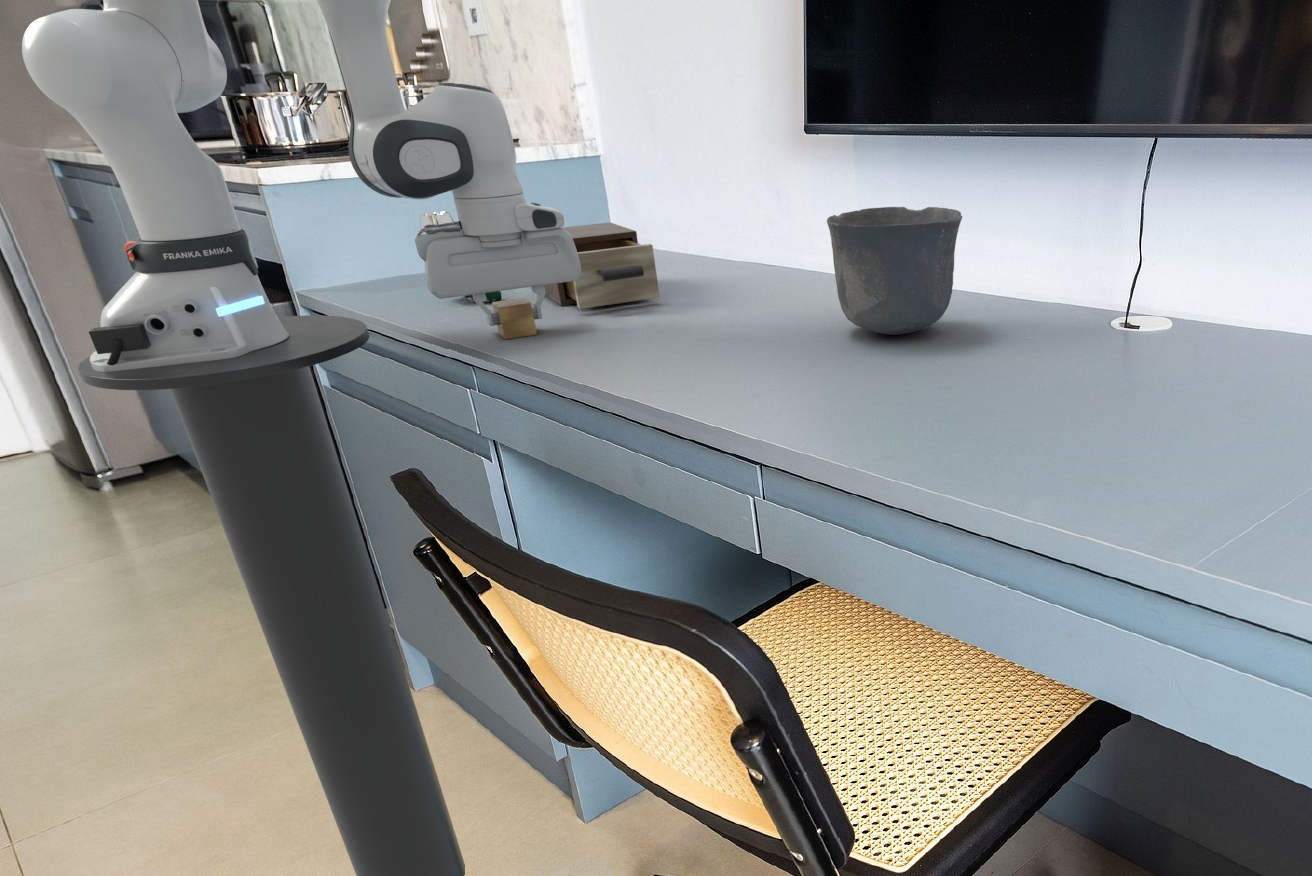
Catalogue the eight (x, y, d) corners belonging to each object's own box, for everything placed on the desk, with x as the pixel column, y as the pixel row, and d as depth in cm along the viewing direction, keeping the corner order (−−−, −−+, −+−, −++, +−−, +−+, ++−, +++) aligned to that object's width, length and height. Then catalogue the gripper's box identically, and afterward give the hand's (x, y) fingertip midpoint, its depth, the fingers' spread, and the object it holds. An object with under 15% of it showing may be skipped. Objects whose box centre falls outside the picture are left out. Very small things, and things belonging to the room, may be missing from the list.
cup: (993, 331, 132) (995, 210, 125) (898, 358, 122) (894, 229, 115) (900, 312, 144) (897, 201, 137) (805, 336, 133) (797, 217, 126)
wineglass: (462, 280, 181) (446, 210, 175) (473, 284, 177) (457, 212, 171) (429, 285, 177) (412, 214, 172) (440, 289, 173) (423, 216, 168)
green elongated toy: (473, 306, 169) (441, 284, 164) (484, 287, 169) (453, 265, 165) (493, 314, 162) (460, 292, 158) (505, 294, 163) (473, 271, 158)
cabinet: (645, 293, 163) (636, 230, 159) (561, 305, 157) (549, 240, 153) (619, 281, 174) (610, 222, 169) (539, 292, 168) (527, 231, 163)
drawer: (669, 301, 152) (662, 247, 149) (588, 313, 147) (578, 258, 143) (634, 285, 165) (626, 235, 162) (558, 295, 160) (548, 244, 156)
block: (505, 339, 139) (498, 307, 137) (498, 333, 142) (491, 302, 140) (537, 334, 141) (530, 302, 138) (529, 328, 144) (523, 297, 142)
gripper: (414, 228, 127) (441, 337, 134) (574, 212, 136) (592, 314, 142) (407, 223, 132) (434, 328, 138) (562, 207, 141) (580, 307, 147)
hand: (515, 321), depth 140 cm, fingers closed on block, 4 cm apart
